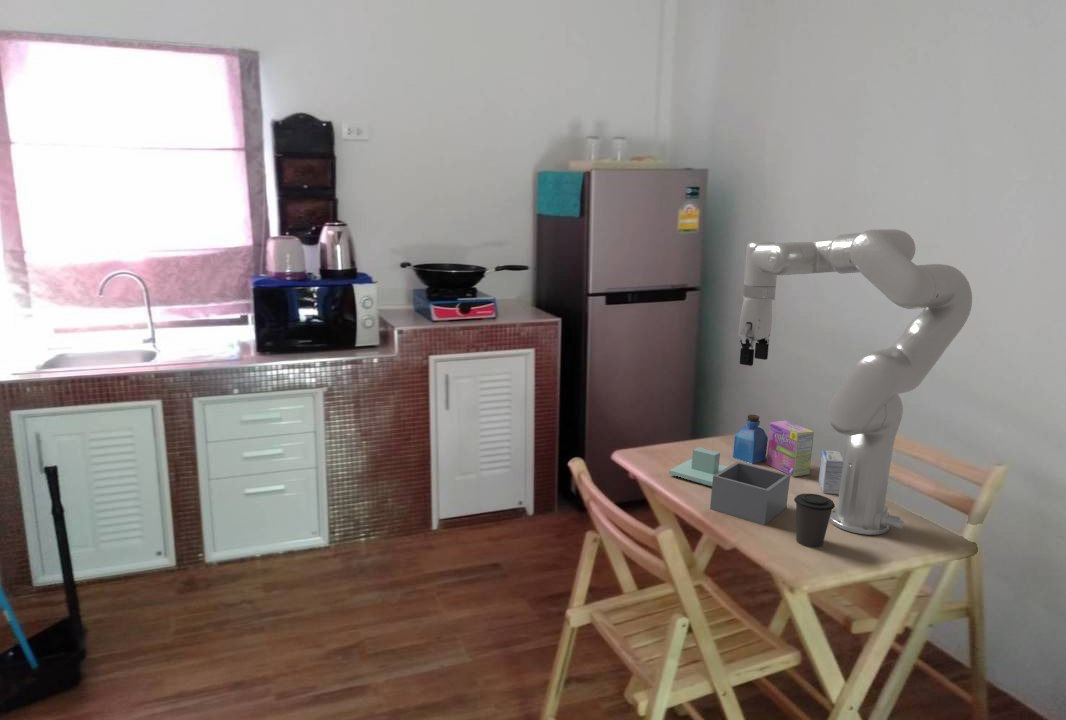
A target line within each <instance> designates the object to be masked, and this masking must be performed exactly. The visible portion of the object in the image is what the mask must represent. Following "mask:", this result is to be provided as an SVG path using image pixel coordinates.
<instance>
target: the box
mask: <svg viewBox="0 0 1066 720" xmlns="http://www.w3.org/2000/svg"><path fill="white" fill-rule="evenodd" d="M814 436H815V431H813V430H810V429H808V428H806V427H804V426H800V425H798V424H796V423H793V422H790V421H788V420H786V419H785V420H777V421H773V422H772V421H771V422H770V423H769V434H768V442H767V452H766V465H767V466H770V467H772V468H773V469H776V470H778V471H780V472H781V473H784V474H787V475H790V477H792V478H795V477H801V476H806V475H807V476H808V475H810V472H811V463H812V454H813V448H814V447H813V445H814V439H815V437H814Z"/></svg>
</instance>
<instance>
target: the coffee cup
mask: <svg viewBox="0 0 1066 720" xmlns="http://www.w3.org/2000/svg"><path fill="white" fill-rule="evenodd" d="M793 501H794V503H795V504H796V505H795V506H796V507H795V509H796V510H795V515H796V519H795V522H796V523H795V527H796V528H795V529H796V530H795V531H796V533H795V535H796V536H795V537H796V538H795V540H796V542H797V543H798V544H800V545H801V546H804V547H807V548H820V547H822V546H823V544H824V541H825V537H826V534H827V529H828V526H829V522H830V520H829V519H830V515H831V511H832V510H833V509H835V507H836V504H835V502H834V501H833V500H832V499H831V498H829V497H827V496H824V495H820V494H817V493H802V494H801V493H799V494H797V495H796V496H795V497H794V499H793Z"/></svg>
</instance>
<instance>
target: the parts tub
mask: <svg viewBox="0 0 1066 720" xmlns="http://www.w3.org/2000/svg"><path fill="white" fill-rule="evenodd" d="M790 480H791V475H788V474H786V473H784V472H781V471H780V472H779V471H776V470H772V469H771V470H770V469H768V468H763V467H759V466H756V465H753V464H750V463H746V462H740V461H736V462H734V463H732V464H730V465H729V466H728V467H727V468H725V469H724V470H722V471H720V472H719V473H717V474H715V475H714V476H713V483H712V487H711V493H710V494H711V496H710V507H709V509H710V510H712V511H713V510H714V511H716V512H720V513H723V514H725V515H730V516H733V517H737V518H739V519H743V520H747V521H750V522H753V523H756V524H759V525H763V526H765V525H766V524H768V523H769V522H771V521H772V520H773V519H774V518H775V517H777V516H778V515H779V514H780V513H782V512H783V511H784V510H786V509H787V505H788V497H789V488H790Z"/></svg>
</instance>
